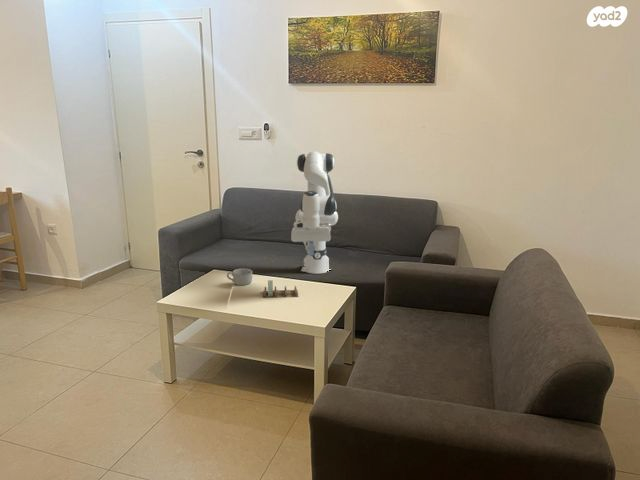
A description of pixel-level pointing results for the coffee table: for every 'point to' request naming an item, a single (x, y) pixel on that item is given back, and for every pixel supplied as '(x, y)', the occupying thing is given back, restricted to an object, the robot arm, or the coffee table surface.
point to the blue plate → (311, 248)
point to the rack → (281, 293)
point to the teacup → (241, 276)
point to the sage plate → (270, 287)
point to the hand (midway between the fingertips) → (310, 249)
